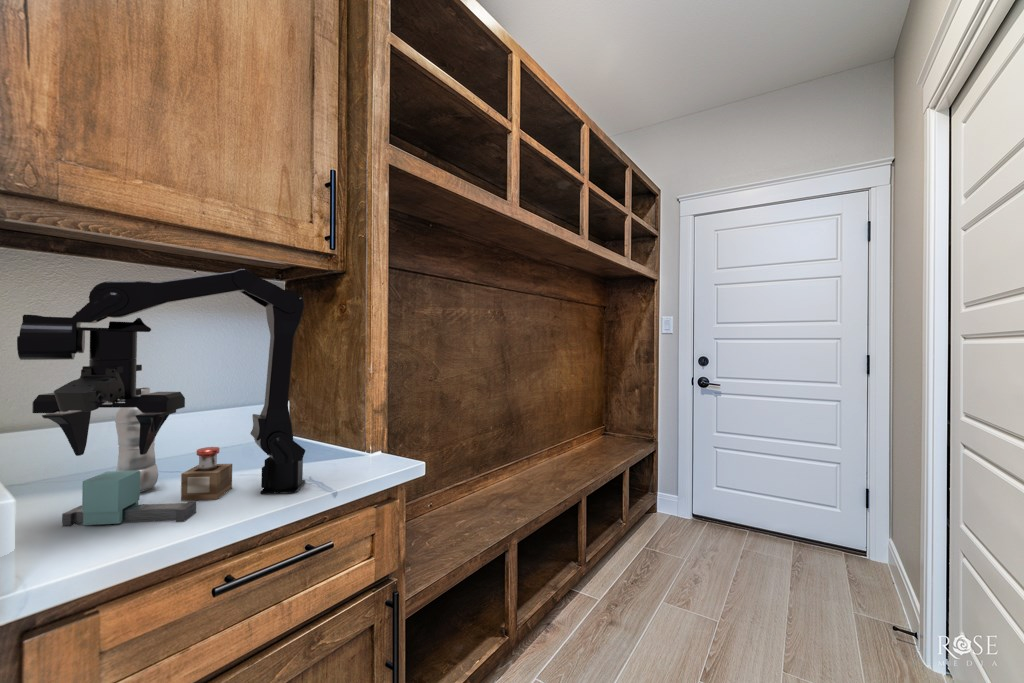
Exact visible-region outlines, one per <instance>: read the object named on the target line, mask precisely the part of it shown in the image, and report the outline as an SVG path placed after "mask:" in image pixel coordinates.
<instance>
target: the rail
mask: <svg viewBox="0 0 1024 683" xmlns="http://www.w3.org/2000/svg"><path fill="white" fill-rule="evenodd" d="M196 513H197V500H191V501H187V502H173V503H149V504H148V503H147V504H142V503H141V504H139V505H130V506H128V507H126V508H124V509H122V522H121V524H123V523H124V524H126V523H144V522H145V523H146V522H147V523H148V522H171V521H174V522H176V523H183V522H185V521H187V520H188V519H190V518H191V517H192V516H194V515H195V514H196ZM61 518H62V520H61V527H62V528H63V527H72V526H74V525H79V526H80V525H83V513H82V504H81V505H79V506H77V507H75V508H72V509H70V510H68V511H66V512H63V513H62V514H61Z"/></svg>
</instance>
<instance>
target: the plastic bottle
mask: <svg viewBox="0 0 1024 683" xmlns="http://www.w3.org/2000/svg"><path fill="white" fill-rule="evenodd" d="M136 389H141V395H144V394H149V393H151V387H146V386H145V387H143V386H142V387H136ZM141 395H136V396H141ZM139 414H143V413H142V412H141V411H140V410H139V409H138V408H137V407H121V408H119V409H118V410H117V411H116V413H115V417H114V422H115V429H116V434H117V442H118V443H117V445H118V455H117V466H116V470H115V471H140V493H141V492H144V491H148V490H151V489H152V488H154V487H155V485H156V484H157V483H158V479H159V470H158V469H159V468H158V465H157V462H156V452H155V450H156V449H155V446H156V445H155V444H156V443H155V441H156V438H155V439H154V440H153V442H152V444H151V446H150V448H149V450H148V452H147V453H146V454H144V455H140V450H139V437H140V423H139V421H138V420H137V418H136V416H135V415H139Z"/></svg>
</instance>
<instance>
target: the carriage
mask: <svg viewBox="0 0 1024 683" xmlns="http://www.w3.org/2000/svg"><path fill="white" fill-rule="evenodd" d="M81 490H82V492H81V494H82V496H81V497H82V499H81V500H82V502H81V505H82V513H83V524H82V526H90V525H91V526H92V525H93V526H95V525H96V526H97V525H112V524H113V525H116V524H118V525H119V524H120V523H121V522H122V509H124V508H126V507H128V506H130V505H140V502H139V501H140V496H141V495H140V493H141V492H140V471H116V470H115V471H105V472H103V473H100V474H97V475H95V476H92V477H90V478H88V479H85V480H83V481H82V488H81ZM121 524H122V523H121Z"/></svg>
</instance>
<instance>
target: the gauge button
mask: <svg viewBox="0 0 1024 683" xmlns="http://www.w3.org/2000/svg"><path fill="white" fill-rule="evenodd" d="M219 453H220V447H219V446H207V447H201V448H198V449H196V456H198V465H199V471H214V470H215V469H217V464H218V462H217V461H218V454H219Z"/></svg>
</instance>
